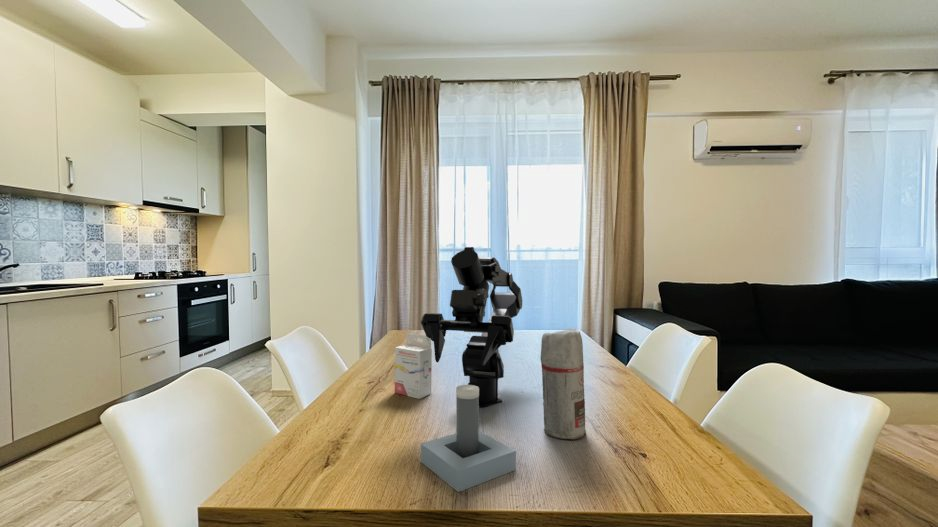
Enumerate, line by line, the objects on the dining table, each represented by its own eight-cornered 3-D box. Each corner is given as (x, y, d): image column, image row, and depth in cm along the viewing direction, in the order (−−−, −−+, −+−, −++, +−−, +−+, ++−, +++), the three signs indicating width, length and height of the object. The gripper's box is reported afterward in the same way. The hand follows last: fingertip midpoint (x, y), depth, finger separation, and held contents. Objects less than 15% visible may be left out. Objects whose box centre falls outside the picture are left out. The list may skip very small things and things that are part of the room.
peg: (464, 458, 68) (464, 383, 68) (483, 464, 66) (483, 387, 66) (451, 467, 65) (451, 388, 65) (470, 473, 63) (470, 393, 63)
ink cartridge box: (393, 393, 102) (393, 335, 102) (406, 388, 106) (406, 332, 106) (419, 399, 97) (420, 338, 98) (432, 394, 102) (432, 335, 102)
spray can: (560, 444, 73) (561, 334, 73) (533, 428, 80) (533, 327, 80) (595, 435, 77) (595, 330, 77) (566, 421, 84) (566, 325, 84)
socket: (474, 444, 73) (474, 427, 73) (515, 469, 64) (515, 450, 64) (420, 461, 66) (420, 443, 66) (458, 492, 57) (458, 471, 57)
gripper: (424, 274, 85) (402, 335, 75) (511, 275, 81) (502, 340, 70) (436, 308, 93) (418, 368, 82) (517, 311, 88) (509, 374, 77)
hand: (459, 362), depth 78 cm, fingers open, 9 cm apart
